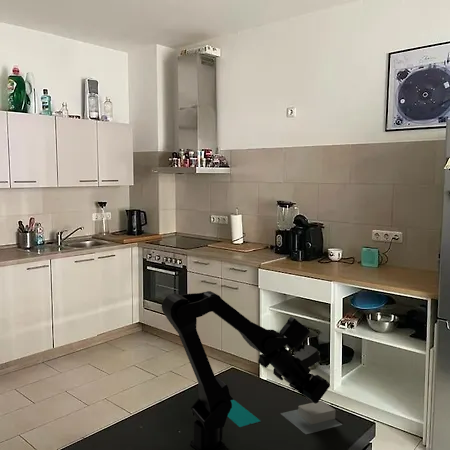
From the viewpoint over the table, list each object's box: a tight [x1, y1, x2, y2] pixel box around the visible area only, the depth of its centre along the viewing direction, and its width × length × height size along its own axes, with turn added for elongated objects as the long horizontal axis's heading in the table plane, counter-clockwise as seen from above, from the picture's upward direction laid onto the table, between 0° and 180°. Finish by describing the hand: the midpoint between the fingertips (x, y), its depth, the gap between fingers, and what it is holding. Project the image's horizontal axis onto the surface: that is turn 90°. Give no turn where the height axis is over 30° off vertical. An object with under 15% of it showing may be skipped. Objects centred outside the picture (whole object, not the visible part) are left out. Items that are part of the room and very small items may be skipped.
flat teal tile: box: [227, 398, 263, 429], centre depth 129 cm, size 7×1×15 cm
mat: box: [280, 408, 343, 435], centre depth 126 cm, size 12×12×1 cm
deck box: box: [297, 400, 336, 425], centre depth 127 cm, size 3×6×8 cm
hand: (316, 395), depth 127 cm, fingers closed
